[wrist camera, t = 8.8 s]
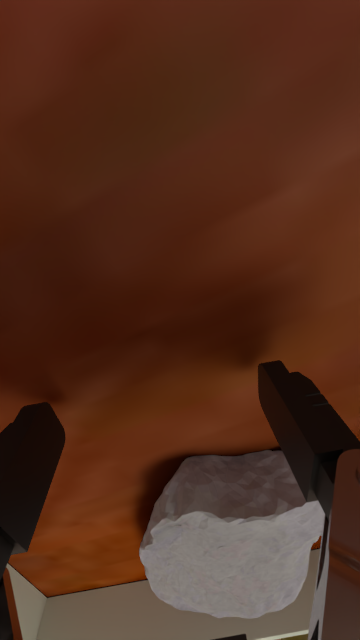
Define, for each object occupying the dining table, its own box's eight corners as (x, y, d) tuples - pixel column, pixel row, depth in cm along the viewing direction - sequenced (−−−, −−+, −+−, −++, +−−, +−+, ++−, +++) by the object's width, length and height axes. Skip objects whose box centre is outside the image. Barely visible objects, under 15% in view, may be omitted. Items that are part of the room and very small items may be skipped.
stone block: (152, 524, 21) (277, 542, 20) (137, 609, 16) (296, 638, 16) (150, 418, 16) (319, 437, 15) (126, 502, 11) (364, 536, 10)
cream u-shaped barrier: (-150, 447, 11) (-288, 566, 8) (439, 346, 12) (563, 417, 8) (39, 604, 21) (17, 687, 18) (353, 547, 22) (392, 617, 18)
